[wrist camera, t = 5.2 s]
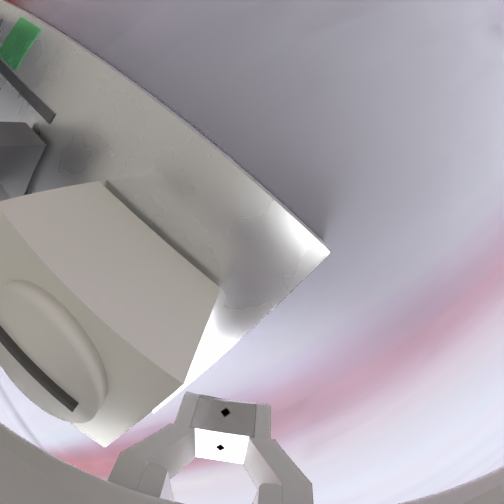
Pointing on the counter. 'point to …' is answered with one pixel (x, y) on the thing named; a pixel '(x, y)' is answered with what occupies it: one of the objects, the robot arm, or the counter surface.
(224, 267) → the base
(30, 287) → the gauge body
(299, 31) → the counter surface
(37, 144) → the block
